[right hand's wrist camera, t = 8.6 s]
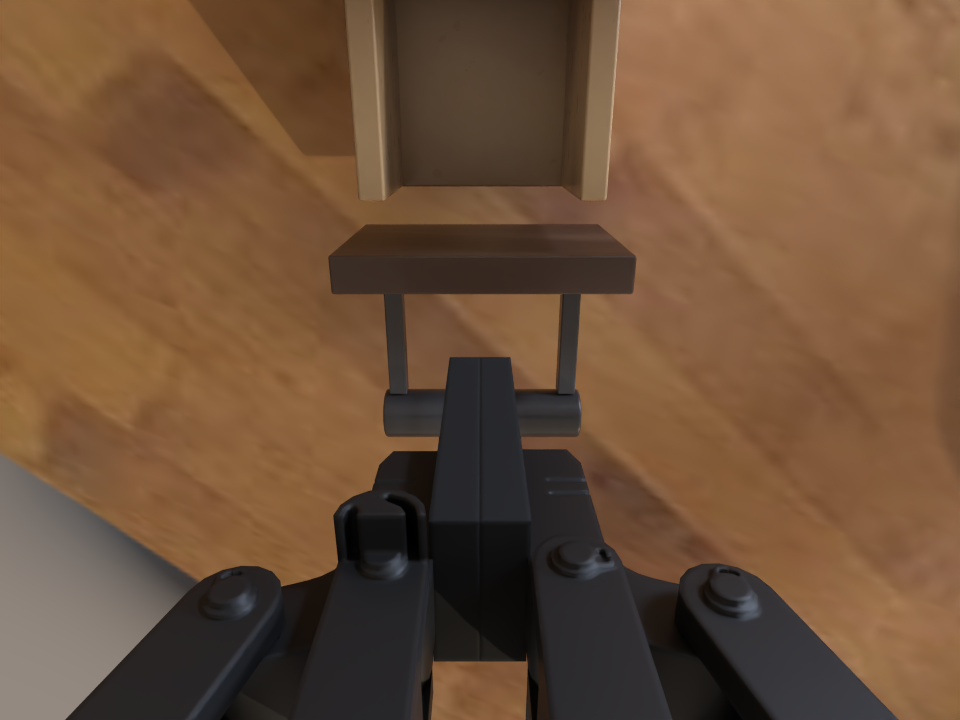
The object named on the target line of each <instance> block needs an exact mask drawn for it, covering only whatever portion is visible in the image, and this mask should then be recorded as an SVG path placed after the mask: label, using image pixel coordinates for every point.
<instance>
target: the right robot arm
mask: <svg viewBox="0 0 960 720" xmlns="http://www.w3.org/2000/svg"><path fill="white" fill-rule="evenodd" d="M333 517H334V526H335V535H336V545H337V554H338V565H337V568H336V569H335V570H333V571H331V572H329V573H327V574H325V575H323V576H320V577H317V578H314V579H311V580H308V581H304V582H299V583H295V584H291V585H287V586H282V587H281V584H280V580H279V579H278V578H277V577H276V576H275V574H274V573H273V572H272V571H269V570H266V569H264V568H261V567H259V566H239V567H234V568H230V569H226V570H222V571H220V572H217V573H215V574H213V575H211V576H209V577H207V578H205V579H203V580H202V581H201V582H199V583H198V584H197V585H196V586H194V587H193V588H192V589H191V590H189V591H188V592H187V593H186V594H185V595H184V596H183V597H182V599H181V600H180V601H179V602H178V603H177V604H176V605H175V606H174V607H173V608H172V609H171V610H170V611H169V612H168V613H167V614H166V615H165V616H164V617H163V618H162V619H161V620H160V621H159V623H158V624H157V625H156V626H155V627H154V628H153V629H152V630H151V631H150V632H149V633H148V634H147V635H146V636H145V637H144V638H143V639H142V640H141V641H140V642H139V643H138V644H137V645H136V647H135V648H134V649H133V650H132V651H131V652H130V653H129V654H128V655H127V656H126V657H125V658H124V659H123V660H122V661H121V662H120V663H119V664H118V665H117V666H116V667H115V669H114V670H113V671H112V672H111V673H110V674H109V675H108V676H107V677H106V678H105V679H104V680H103V681H102V682H101V683H100V684H99V685H98V686H97V687H96V688H95V689H94V690H93V691H92V692H91V694H90V695H89V696H88V697H87V698H86V699H85V700H84V701H83V702H82V703H81V704H80V705H79V706H78V707H77V708H76V709H75V710H74V711H73V712H72V713H71V714H70V715H69V716H68V718H67V719H66V720H431V712H432V700H433V677H432V664H433V655H434V661H526V655H527V661H528V677H527V702H526V720H898V719H897V718H896V717H895V716H894V715H893V714H892V713H891V711H890V710H889V709H888V708H887V707H886V706H885V705H884V704H883V703H882V702H881V701H880V700H879V699H878V698H877V697H876V696H875V695H874V694H873V693H872V692H871V691H870V690H869V689H868V688H867V687H866V686H865V685H864V683H863V682H862V681H861V680H860V679H859V678H858V677H857V676H856V675H855V674H854V673H853V672H852V671H851V670H850V669H849V668H848V667H847V666H846V665H845V664H844V663H843V662H842V661H841V660H840V659H839V658H838V657H837V656H836V654H835V653H834V652H833V651H832V650H831V649H830V648H829V647H828V646H827V645H826V644H825V643H824V642H823V641H822V640H821V639H820V638H819V637H818V636H817V635H816V634H815V633H814V632H813V631H812V630H811V629H810V628H809V626H808V625H807V624H806V623H805V622H804V621H803V620H802V619H801V618H800V617H799V616H798V615H797V614H796V613H795V612H794V611H793V610H792V609H791V608H790V607H789V606H788V605H787V604H786V603H785V602H784V601H783V600H782V598H781V597H780V596H779V595H778V594H777V593H776V592H775V591H774V590H773V589H772V588H771V587H769V586H768V585H767V584H766V583H764V582H763V581H762V580H761V579H759V578H758V577H757V576H755V575H753V574H750V573H748V572H746V571H744V570H742V569H740V568H737V567H732V566H728V565H723V564H701V565H698V566H695V567H693V568H690V569H688V570H687V571H686V572H685V574H684V575H683V576H682V577H681V578H680V584H675V583H671V582H666V581H662V580H658V579H654V578H650V577H647V576H644V575H641V574H638V573H636V572H634V571H632V570H630V569H628V568H626V567H625V566H623V564H622V561H621V560H620V558H619V556H618V555H617V553H616V551H615V550H614V549H612V548H611V547H610V546H609V545H607V544H606V543H605V542H604V540H603V536H602V533H601V530H600V526H599V523H598V519H597V516H596V513H595V509H594V506H593V503H592V499H591V496H590V495H589V489H588V486H587V483H586V482H585V476H584V473H583V469H582V466H581V463H580V462H579V461H578V460H577V459H576V458H575V457H574V456H573V455H572V454H571V453H570V452H569V451H567V450H522V444H521V436H520V429H519V421H518V413H517V406H516V398H515V390H514V383H513V375H512V367H511V360H510V357H450V360H449V367H448V375H447V383H446V390H445V398H444V406H443V413H442V421H441V429H440V436H439V444H438V451H393V452H392V453H391V454H390V455H389V456H388V457H387V458H386V459H385V460H384V461H383V462H382V463H381V464H380V465H379V468H378V471H377V475H376V478H375V484H374V485H373V488H372V491H368V492H365V493H362V494H359V495H356V496H353V497H352V498H350V499H349V500H347V501H346V502H344V503H343V504H341V505H340V507H339V508H338V510H337V511H336V512H335V514H334V515H333Z"/></svg>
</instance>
